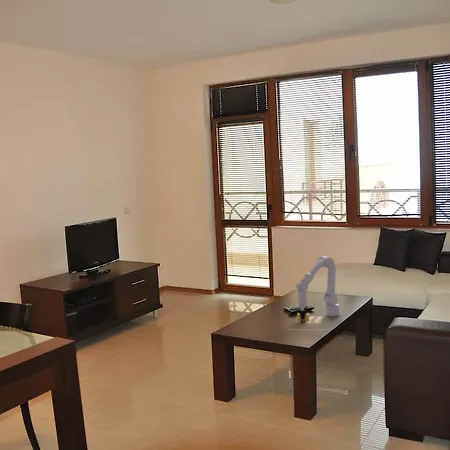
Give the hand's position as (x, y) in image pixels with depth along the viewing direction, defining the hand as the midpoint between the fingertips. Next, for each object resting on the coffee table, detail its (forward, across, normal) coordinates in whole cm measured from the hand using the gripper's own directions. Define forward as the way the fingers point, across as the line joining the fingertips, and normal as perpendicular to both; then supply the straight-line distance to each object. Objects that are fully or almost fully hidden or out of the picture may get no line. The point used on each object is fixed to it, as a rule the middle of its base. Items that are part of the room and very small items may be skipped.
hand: (303, 317), depth 388 cm
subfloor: (+2, 0, +4) cm, 5 cm away
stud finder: (+1, 0, 0) cm, 1 cm away
